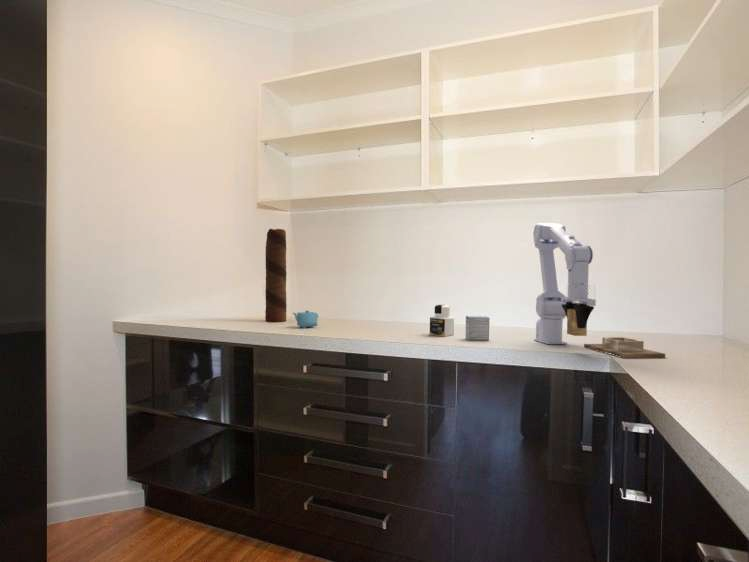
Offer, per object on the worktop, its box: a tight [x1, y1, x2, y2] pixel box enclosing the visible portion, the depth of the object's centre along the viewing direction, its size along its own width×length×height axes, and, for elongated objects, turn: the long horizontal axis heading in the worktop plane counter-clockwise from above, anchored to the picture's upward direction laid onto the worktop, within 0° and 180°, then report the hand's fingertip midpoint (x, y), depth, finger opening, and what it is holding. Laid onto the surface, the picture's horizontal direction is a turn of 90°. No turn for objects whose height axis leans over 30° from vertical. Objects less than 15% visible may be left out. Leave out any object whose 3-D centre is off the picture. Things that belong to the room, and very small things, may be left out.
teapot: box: [292, 310, 319, 329], centre depth 178 cm, size 12×6×8 cm, turn 118°
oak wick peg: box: [566, 309, 588, 337], centre depth 128 cm, size 4×4×8 cm
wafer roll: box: [264, 228, 287, 323], centre depth 199 cm, size 10×11×45 cm
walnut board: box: [583, 336, 666, 359], centre depth 130 cm, size 18×14×4 cm
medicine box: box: [465, 315, 490, 341], centre depth 152 cm, size 8×4×9 cm, turn 92°
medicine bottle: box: [429, 304, 455, 338], centre depth 163 cm, size 7×7×12 cm
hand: (576, 327), depth 128 cm, fingers closed on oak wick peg, 4 cm apart
